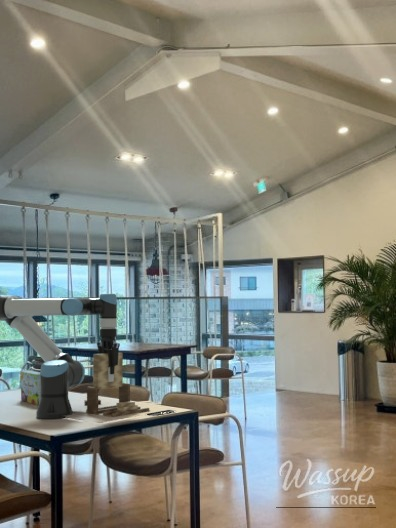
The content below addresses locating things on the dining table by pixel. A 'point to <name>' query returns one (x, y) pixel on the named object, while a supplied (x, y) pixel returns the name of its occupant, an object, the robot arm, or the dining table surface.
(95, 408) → the rack
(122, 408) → the offcut stack
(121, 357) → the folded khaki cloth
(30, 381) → the snack box
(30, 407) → the dining table surface
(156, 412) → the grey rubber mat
